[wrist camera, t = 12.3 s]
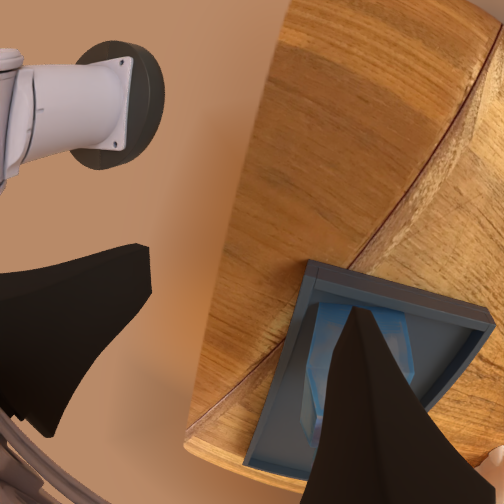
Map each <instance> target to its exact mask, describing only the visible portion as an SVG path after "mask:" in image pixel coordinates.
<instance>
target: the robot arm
mask: <svg viewBox="0 0 504 504" xmlns="http://www.w3.org/2000/svg"><path fill="white" fill-rule="evenodd" d="M23 60H24V57H23V56H22V55H21V53H20V52H19V50H18V49H9V48H8V49H7V48H5V49H4V48H0V195H1V194H2V192H3V191H4V189H5V186H6V183H7V179H9V178H11V177H14V176H17V175H18V174H19V166H20V165H21V164H24V163H27V162H30V161H33V160H37V159H40V158H44V157H47V156H50V155H54V154H57V153H61V152H65V151H69V150H73V149H77V148H89V149H104V150H117V151H121V150H124V149H125V147H126V137H127V119H128V106H129V94H130V85H131V76H132V68H133V58H132V57H122V58H116V59H111V60H106V61H101V62H97V63H92V64H88V65H68V64H57V65H55V64H54V65H53V64H52V65H27V66H23V65H22V64H23ZM123 61H124V64H123V65H122V63H123ZM116 143H117V146H116ZM151 294H152V287H151V274H150V256H149V247H147V246H143V245H140V244H137V243H135V244H129V245H124V246H120V247H116V248H113V249H109V250H106V251H102V252H99V253H96V254H92V255H89V256H85V257H82V258H79V259H75V260H71V261H68V262H64V263H60V264H57V265H53V266H48V267H43V268H38V269H33V270H27V271H19V272H11V273H0V504H61V503H60V502H58V501H57V500H56V499H55V498H53V497H52V496H51V495H50V494H48V493H47V492H46V491H45V490H44V489H42V488H41V487H42V486H43V484H44V482H43V480H42V479H41V477H40V476H39V475H38V474H37V473H36V471H37V472H38V473H39V474H40V475H41V476H42V477H43V478H44V479H45V480H47V481H48V482H49V483H50V484H51V485H52V486H53V487H55V488H56V489H57V490H58V491H59V492H61V493H62V494H63V495H64V496H66V497H67V498H68V499H69V500H71V501H72V502H73V503H75V504H111V503H109V502H108V501H106V500H104V499H103V498H101V497H100V496H98V495H97V494H95V493H94V492H92V491H91V490H90V489H88V488H87V487H85V486H84V485H83V484H81V483H80V482H78V481H77V480H76V479H75V478H73V477H72V476H71V475H69V474H68V473H67V472H66V471H64V470H63V469H62V468H61V467H60V466H58V465H57V464H56V463H55V462H54V461H53V460H51V459H50V458H49V457H48V456H47V455H46V454H45V453H44V452H42V451H41V450H40V449H39V448H38V447H37V446H36V445H35V444H34V443H33V442H32V441H31V440H30V439H29V438H28V437H27V436H26V435H25V434H24V433H23V432H22V431H21V430H20V429H19V428H18V427H17V426H16V425H15V424H14V423H13V421H12V420H11V419H10V418H11V417H12V416H13V415H15V416H16V417H17V418H18V419H19V420H20V421H23V420H24V419H26V420H27V421H28V422H29V423H30V424H31V425H32V426H33V427H34V428H35V429H36V430H37V431H38V432H40V433H41V434H42V435H43V436H44V437H46V438H51V437H53V436H54V434H55V431H56V429H57V426H58V424H59V422H60V419H61V417H62V415H63V412H64V410H65V408H66V407H67V405H68V403H69V401H70V399H71V397H72V395H73V393H74V391H75V390H76V388H77V387H78V385H79V383H80V382H81V380H82V379H83V377H84V375H85V374H86V372H87V371H88V370H89V368H90V367H91V365H92V364H93V362H94V361H95V360H96V358H97V357H98V356H99V355H100V353H101V352H102V351H103V350H104V349H105V348H106V347H107V345H109V343H110V342H111V341H112V340H113V339H114V338H115V337H116V336H117V335H118V334H119V333H120V332H121V331H122V330H123V329H124V327H125V326H126V325H127V324H128V323H129V322H130V321H131V320H132V319H133V318H134V317H135V316H136V314H137V313H138V312H139V311H140V309H141V308H142V307H143V305H144V304H145V302H146V301H147V300H148V298H149V297H150V295H151ZM7 441H8V442H9V443H10V444H11V446H12V447H13V448H14V449H15V450H16V451H17V452H18V453H19V454H20V455H21V456H22V457H23V458H24V459H25V460H26V461H27V463H29V464H30V465H31V466H32V467H33V468H34V469H35V470H36V471H34V469H32V468H31V467H30V466H29V465H28V464H27V463H26V462H25V461H23V460H22V459H21V458H20V457H19V456H18V455H17V454H15V453H14V452H13V451H12V450H11V449H10V448H8V446H7ZM300 504H496V489H495V487H494V486H492V485H491V484H490V483H489V482H488V481H487V480H486V479H485V478H484V477H482V476H481V475H480V474H479V473H478V472H477V471H476V470H475V469H474V468H473V467H472V466H471V465H470V464H469V463H468V462H467V461H466V460H465V459H464V458H463V457H462V456H461V455H460V454H459V453H458V451H457V450H456V449H455V448H454V447H453V446H452V445H451V443H450V442H449V441H448V440H447V439H446V437H445V436H444V435H443V433H442V432H441V431H440V430H439V428H438V427H437V426H436V424H435V423H434V422H433V420H432V419H431V418H430V416H429V415H428V413H427V412H426V410H425V409H424V407H423V406H422V404H421V403H420V401H419V400H418V398H417V397H416V395H415V394H414V392H413V390H412V389H411V387H410V385H409V384H408V382H407V380H406V378H405V377H404V375H403V373H402V371H401V370H400V368H399V366H398V364H397V362H396V360H395V358H394V356H393V355H392V353H391V351H390V349H389V347H388V345H387V343H386V341H385V339H384V336H383V334H382V332H381V330H380V328H379V326H378V324H377V322H376V320H375V318H374V316H373V314H372V312H371V310H367V309H363V308H359V307H356V306H352V309H351V311H350V314H349V316H348V318H347V321H346V323H345V325H344V328H343V330H342V332H341V334H340V337H339V339H338V341H337V343H336V345H335V347H334V350H333V353H332V358H331V363H330V367H329V372H328V377H327V386H326V395H325V404H324V412H323V420H322V428H321V435H320V440H319V445H318V449H317V453H316V456H315V460H314V463H313V466H312V470H311V473H310V476H309V479H308V482H307V485H306V488H305V491H304V493H303V496H302V499H301V501H300Z"/></svg>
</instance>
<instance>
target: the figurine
mask: <svg viewBox="0 0 504 504" xmlns="http://www.w3.org/2000/svg"><path fill="white" fill-rule="evenodd" d="M488 455H489V456H488V457H487V458H486V459H485V460H484V461H483V462H482V463H481V464H480V466H477V467H475V468H474V469H475V470H476V471H477V472H478V473H479V474H480V475H481V476H482V477H484V478H485V479H486V480H487V481H488V482H489V483H490V484H491V485H492V486H494V487H495V489H496V504H504V445H502V446H499V447H497V448H495V449H493V450H492V451H491V452H489V454H488Z"/></svg>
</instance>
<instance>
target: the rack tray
mask: <svg viewBox="0 0 504 504" xmlns="http://www.w3.org/2000/svg"><path fill="white" fill-rule="evenodd" d="M320 302H322V303H333V304H345V305H357V306H370V307H384V308H390V309H394V310H397V311H401V312H404V315H405V320H406V325H407V330H408V335H409V341H410V346H411V352H412V359H413V366H414V373H415V374H414V376H413V379H412V381H411V383H410V387H411V389H412V390H413V392H414V394H415V395H416V397H417V398H418V400H419V401H420V403H421V404H422V406H423V407H424V409H425V410H426V412H428V411H429V410H430V409H431V408H432V407H433V406H434V405H435V404H436V403H437V402H438V401H439V400H440V399H441V398H442V397H443V395H444V394H445V393H446V392H447V391H448V390H449V389H450V387H451V386H452V385H453V384H454V383H455V382H456V380H457V379H458V378H459V377H460V376H461V374H462V373H463V372H464V371H465V369H466V368H467V367H468V365H469V364H470V363H471V361H472V360H473V359H474V357H475V356H476V355H477V353H478V352H479V351H480V349H481V348H482V346H483V345H484V343H485V342H486V341H487V339H488V338H489V336H490V335H491V333H492V332H493V330H494V328H495V327H496V324H495V322H494V320H493V318H492V316H491V314H490V312H489V311H488V309H487V308H485V307H481V306H478V305H474V304H471V303H467V302H464V301H460V300H457V299H453V298H449V297H446V296H442V295H439V294H435V293H432V292H428V291H424V290H421V289H417V288H413V287H410V286H406V285H403V284H399V283H395V282H392V281H388V280H384V279H381V278H377V277H373V276H370V275H366V274H362V273H359V272H355V271H351V270H348V269H344V268H340V267H336V266H333V265H329V264H325V263H322V262H318V261H314V260H310V259H309V260H308V262H307V266H306V269H305V273H304V276H303V280H302V284H301V287H300V291H299V295H298V298H297V302H296V305H295V309H294V312H293V316H292V319H291V322H290V326H289V329H288V333H287V336H286V339H285V342H284V346H283V349H282V352H281V355H280V359H279V362H278V365H277V368H276V371H275V374H274V377H273V380H272V383H271V386H270V389H269V392H268V395H267V398H266V401H265V404H264V407H263V410H262V413H261V415H260V418H259V421H258V424H257V427H256V429H255V432H254V435H253V437H252V440H251V443H250V445H249V448H248V451H247V453H246V456H245V459H244V461H243V464H242V465H244V466H248V467H251V468H254V469H258V470H261V471H265V472H269V473H273V474H277V475H281V476H285V477H289V478H294V479H299V480H304V481H308V479H309V476H310V473H311V470H312V468H311V463H312V459H313V455H314V451H315V449H316V448H314V447H310V445H309V443H308V441H307V438H306V436H305V433H304V431H303V429H302V426H301V424H300V417H301V409H302V400H303V392H304V383H305V373H306V365H307V360H308V356H309V352H310V347H311V342H312V338H313V333H314V328H315V323H316V318H317V313H318V308H319V303H320Z"/></svg>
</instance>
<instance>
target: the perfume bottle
mask: <svg viewBox="0 0 504 504" xmlns="http://www.w3.org/2000/svg"><path fill="white" fill-rule="evenodd" d="M352 306H356V307H359V308H363V309H367V310H371V312H372V314H373V316H374V318H375V320H376V322H377V324H378V326H379V328H380V330H381V332H382V334H383V336H384V339H385V341H386V343H387V345H388V347H389V349H390V351H391V353H392V355H393V356H394V358H395V360H396V362H397V364H398V366H399V368H400V370H401V371H402V373H403V375H404V377H405V378H406V380H407V382H408V384H409V385H410V383H411V381H412V379H413V376H414V374H415V373H414V366H413V359H412V352H411V346H410V341H409V335H408V330H407V325H406V320H405V315H404V312H401V311H397V310H394V309H390V308H384V307H370V306H357V305H345V304H333V303H322V302H320V303H319V308H318V313H317V318H316V323H315V328H314V333H313V338H312V342H311V347H310V352H309V356H308V360H307V365H306V373H305V383H304V392H303V400H302V409H301V417H300V424H301V426H302V429H303V431H304V433H305V436H306V438H307V441H308V443H309V445H310V447H314V448H316V449H315V451H314V455H313V459H312V463H311V468H312V466H313V463H314V460H315V456H316V453H317V449H318V445H319V440H320V435H321V428H322V420H323V412H324V404H325V395H326V386H327V377H328V372H329V367H330V363H331V358H332V353H333V350H334V347H335V345H336V343H337V341H338V339H339V337H340V334H341V332H342V330H343V328H344V325H345V323H346V321H347V318H348V316H349V314H350V311H351V309H352Z"/></svg>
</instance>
